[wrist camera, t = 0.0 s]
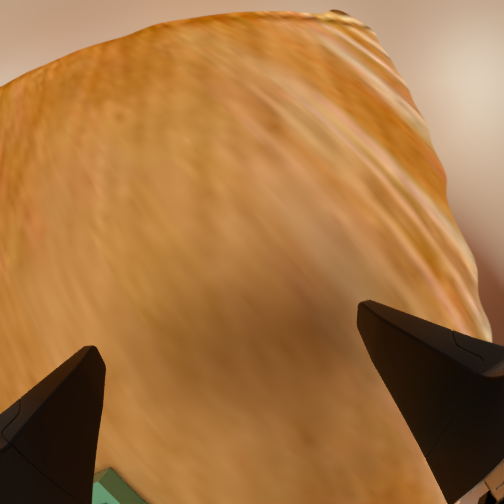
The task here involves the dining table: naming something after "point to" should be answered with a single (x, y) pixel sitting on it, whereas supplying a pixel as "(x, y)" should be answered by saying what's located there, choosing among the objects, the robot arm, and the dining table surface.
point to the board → (113, 490)
